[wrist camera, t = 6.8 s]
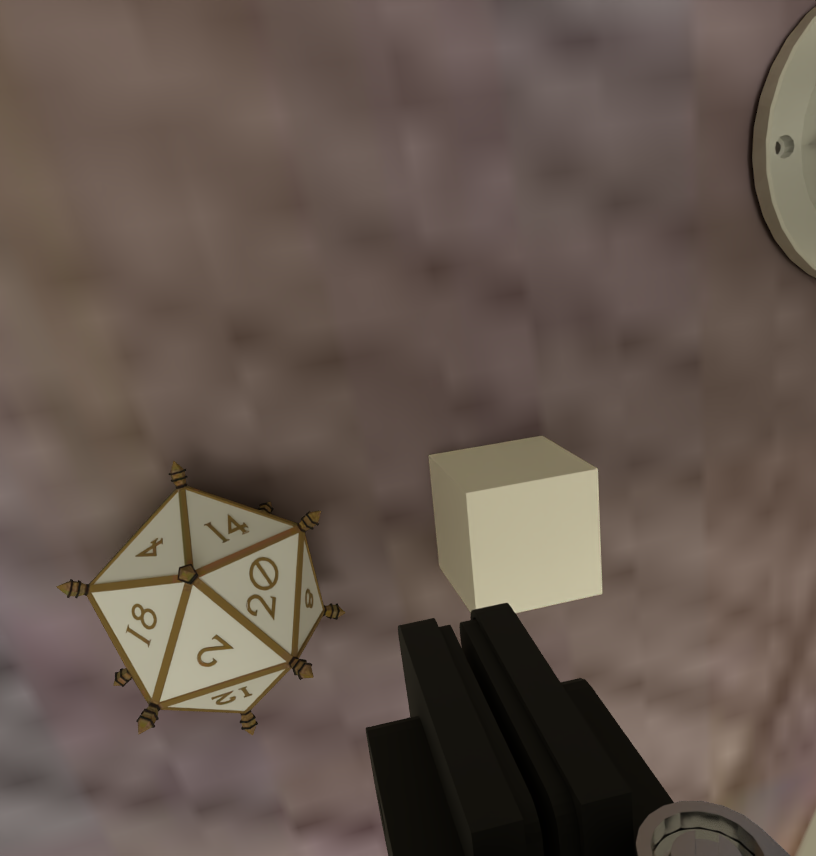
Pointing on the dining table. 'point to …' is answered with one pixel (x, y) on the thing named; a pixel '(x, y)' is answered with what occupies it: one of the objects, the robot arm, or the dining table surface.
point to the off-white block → (517, 524)
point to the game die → (209, 604)
